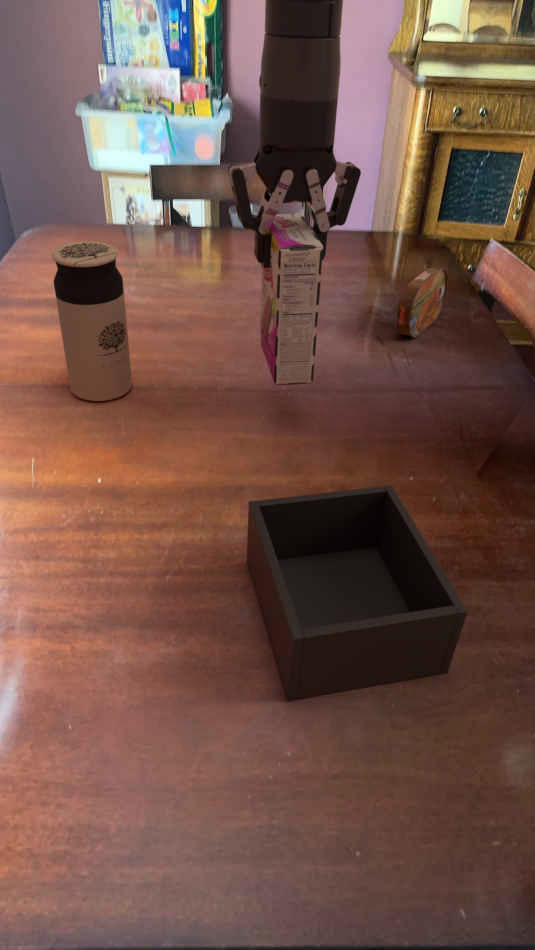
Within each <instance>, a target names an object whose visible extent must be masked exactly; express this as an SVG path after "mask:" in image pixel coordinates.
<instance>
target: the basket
mask: <svg viewBox="0 0 535 950" xmlns="http://www.w3.org/2000/svg"><path fill="white" fill-rule="evenodd" d="M396 491H397V490H395V488H394V486H393V485H392V484H389V485H381V486H380V485H379V486H373V487H364V488H357V489H356V488H355V489H346V490H337V491H329V492H320V493H312V494H303V495H293V496H285V497H277V498H269V499H267V498H266V499H261V500H260V499H259V500H250V501H248V511H247V513H248V514H247V537H246V539H247V542H246V563H247V564H246V565H247V568H248V571H249V574H250V578H251V581H252V586H253V588H254V592H255V595H256V599H257V602H258V605H259V609H260V613H261V616H262V619H263V623H264V626H265V630H266V633H267V636H268V640H269V644H270V647H271V650H272V653H273V657H274V660H275V664H276V667H277V671H278V674H279V678H280V681H281V684H282V687H283V691H284V695H285V698H286V701H287V702H292V701H298V700H303V699H308V698H314V697H321V696H325V695H331V694H337V693H342V692H347V691H353V690H359V689H364V688H369V687H375V686H381V685H386V684H387V685H388V684H393V683H397V682H403V681H408V680H414V679H419V678H420V679H421V678H426V677H431V676H437V675H442V674H447V673H449V669H450V666H451V664H452V660H453V657H454V654H455V651H456V648H457V645H458V642H459V639H460V636H461V633H462V631H463V627H464V625H465V621H466V619H467V616H468V613H469V611H468V609H467V607H466V605H465V604H464V603H463V601H462V599H461V598H460V596H459V594H458V593H457V591H456V589H455V588H454V586H453V584H452V583H451V581H450V579H449V578H448V576H447V574H446V573H445V571H444V569H443V567H442V566H441V564H440V563H439V561H438V559H437V558H436V556H435V555H434V553H433V551H432V550H431V548H430V546H429V545H428V543H427V541H426V540H425V538H424V536H423V535H422V533H421V531H420V530H419V528H418V526H417V524H416V522H415V521H414V520H413V518H412V516H411V515H410V513H409V511H408V510H407V508H406V507H405V504H404V503H403V501H402V499H401V498H400V496H399V495H398V493H397V492H396Z"/></svg>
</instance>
